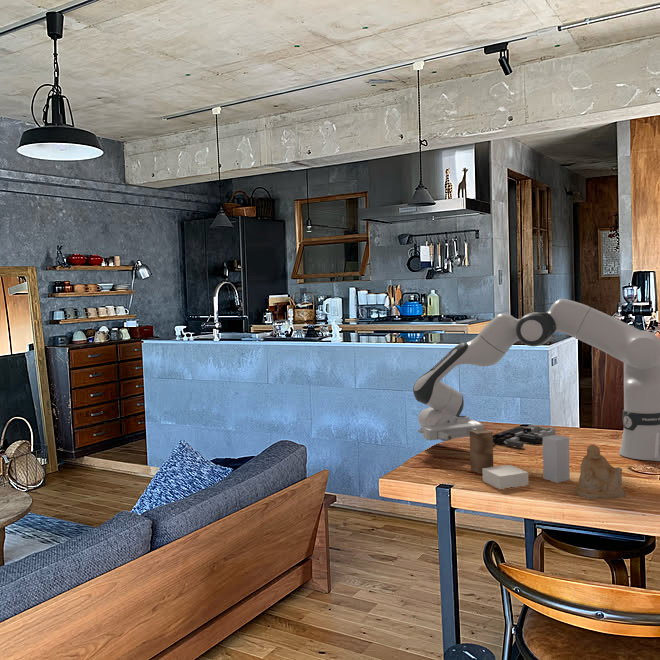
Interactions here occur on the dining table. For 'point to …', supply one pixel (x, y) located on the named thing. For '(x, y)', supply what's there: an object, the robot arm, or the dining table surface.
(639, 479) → the dining table surface
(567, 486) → the dining table surface
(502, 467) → the cream base
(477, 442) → the walnut block
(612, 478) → the statue
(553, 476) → the grey block
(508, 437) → the toy gun
